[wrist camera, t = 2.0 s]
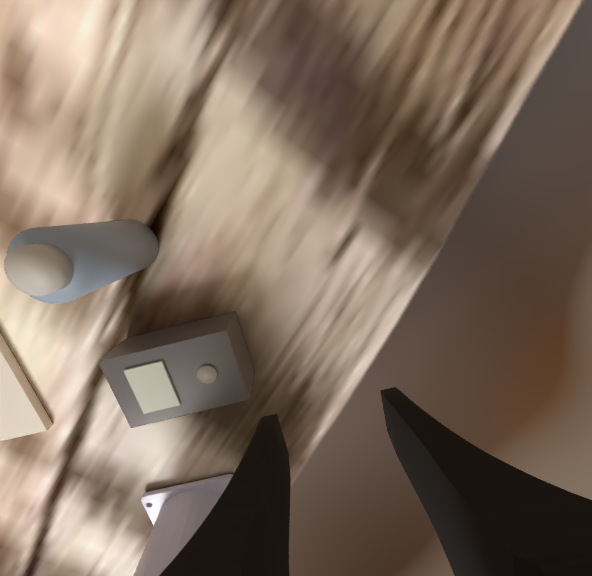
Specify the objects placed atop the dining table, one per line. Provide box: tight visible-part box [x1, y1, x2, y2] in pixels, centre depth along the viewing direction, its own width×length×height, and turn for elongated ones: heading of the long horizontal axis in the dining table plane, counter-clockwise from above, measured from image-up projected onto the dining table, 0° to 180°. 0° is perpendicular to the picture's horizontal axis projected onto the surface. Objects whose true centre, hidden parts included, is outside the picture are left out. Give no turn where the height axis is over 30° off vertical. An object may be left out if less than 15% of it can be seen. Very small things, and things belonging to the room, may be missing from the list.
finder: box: [98, 311, 255, 428], centre depth 19 cm, size 5×8×4 cm, turn 104°
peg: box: [4, 220, 159, 304], centre depth 15 cm, size 3×3×8 cm
